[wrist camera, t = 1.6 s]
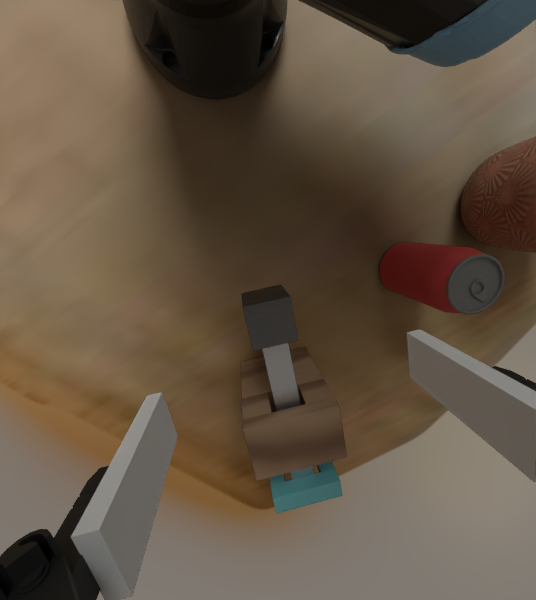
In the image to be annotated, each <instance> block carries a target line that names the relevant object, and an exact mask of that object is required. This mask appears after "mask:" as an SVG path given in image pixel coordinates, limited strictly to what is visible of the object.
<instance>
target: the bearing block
mask: <svg viewBox="0 0 536 600" xmlns="http://www.w3.org/2000/svg"><path fill="white" fill-rule="evenodd" d="M290 355H291V360H292V365H293V370H294V375H295V380H296V385H297V390H298V395H299V400H300V406H296V407H292V408H288V409H284V410H280V411H276V407H275V402H274V398H273V393H272V389H271V385H270V380H269V376H268V372H267V367H266V363H265V358H264V357H260V358H256V359H252V360H247V361H243V362H241V388H242V418H243V432H244V436H245V439H246V443H247V447H248V450H249V454H250V458H251V461H252V465H253V469H254V472H255V476H256V480H257V481H259V480H262V479H266V478H270V477H274V476H278V475H281V474H285V473H289V472H293V471H297V470H300V469H304V468H308V467H312V466H315V465H319V464H323V463H327V462H331V461H334V460H338V459H342V458H346V457H347V454H346V447H345V441H344V434H343V428H342V421H341V415H340V408H339V404H338V403H337V401H336V399H335V398H334V396H333V394H332V392H331V391H330V389H329V387H328V386H327V384H326V382H325V380H324V379H323V377H322V375H321V374H320V372H319V370H318V368H317V367H316V365H315V363H314V362H313V360H312V358H311V356H310V355H309V353H308V351H307V350H306V348H305V347H302V348H298V349H294V350H290Z"/></svg>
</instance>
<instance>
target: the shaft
mask: <svg viewBox="0 0 536 600" xmlns="http://www.w3.org/2000/svg"><path fill="white" fill-rule="evenodd" d="M242 305H243V311H244V315H245V319H246V323H247V327H248V332H249V336H250V340H251V344H252V348H253V351H256V350H260V349H262V350H263V354H264V358H265V363H266V367H267V372H268V376H269V380H270V385H271V389H272V393H273V398H274V402H275V407H276V411H280V410H284V409H288V408H292V407H296V406H300V400H299V395H298V390H297V385H296V380H295V375H294V370H293V365H292V360H291V355H290V350H289V345H288V343H290V342H294V341H298V335H297V329H296V324H295V319H294V313H293V308H292V303H291V297H290V295H289V294H288V293H287V292H286V290H285V289H284V288H283V287H282V285H277V286H272V287H268V288H263V289H259V290H254V291H250V292H245V293H242ZM311 474H314V471H313V466H312V467H308V468H304V469H300V470H297V471H293V472H291V477H292V480H293V479H296V478H300V477H304V476H308V475H311Z"/></svg>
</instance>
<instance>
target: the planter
mask: <svg viewBox="0 0 536 600" xmlns="http://www.w3.org/2000/svg"><path fill="white" fill-rule="evenodd" d="M461 216H462V220H463V223H464V225H465V227H466V229H467V230H468V232H469V233H470V234H471V235H472V236H473V237H474V238H476V239H477V240H479V241H481V242H483V243H485V244H488V245H491V246H495V247H500V248H505V249H512V250H519V251H528V252H536V137H533V138H531V139H528V140H525V141H523V142H520V143H518V144H515V145H513V146H511V147H508V148H506V149H504V150H502V151H500V152H498V153H496V154H494V155H493V156H491V157H490V158H488V159H487V160H485V161H484V162H483V163H482V164H481V165H480V166H479V167H478V168H477V169H476V170H475V171H474V172H473V174H472V175H471V177H470V178H469V180H468V182H467V184H466V186H465V188H464V191H463V194H462V199H461Z"/></svg>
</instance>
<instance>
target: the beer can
mask: <svg viewBox="0 0 536 600" xmlns="http://www.w3.org/2000/svg"><path fill="white" fill-rule="evenodd" d="M379 271H380V278H381V280H382V282H383V284H384V285H385V286H386V287H387V288H388V289H389V290H391V291H394V292H396V293H399V294H401V295H404V296H406V297H409V298H411V299H414V300H416V301H419V302H421V303H424V304H426V305H429V306H431V307H434V308H436V309H439V310H441V311H444V312H451V313H464V314H475V313H478V312H482V311H483V310H485V309H487V308H488V307H490V306H491V305H492V304H493V303H494V302H495V301H496V300H497V298H498V297H499V295H500V293H501V292H502V289H503V285H504V270H503V267H502V264H501V263H500V262H499V261H498V260H497V258H495V257H493V256H491V255H487V254H485V253H483V252H481V251H479V250H477V249H474V248H471V247H461V246H448V245H435V244H422V243H409V242H404V243H400V244H397V245H395V246H394V247H392V248H390V249H389V250H388V251H387V253H386V254H385V255H384V257H383V259H382V261H381V264H380V269H379Z"/></svg>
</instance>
